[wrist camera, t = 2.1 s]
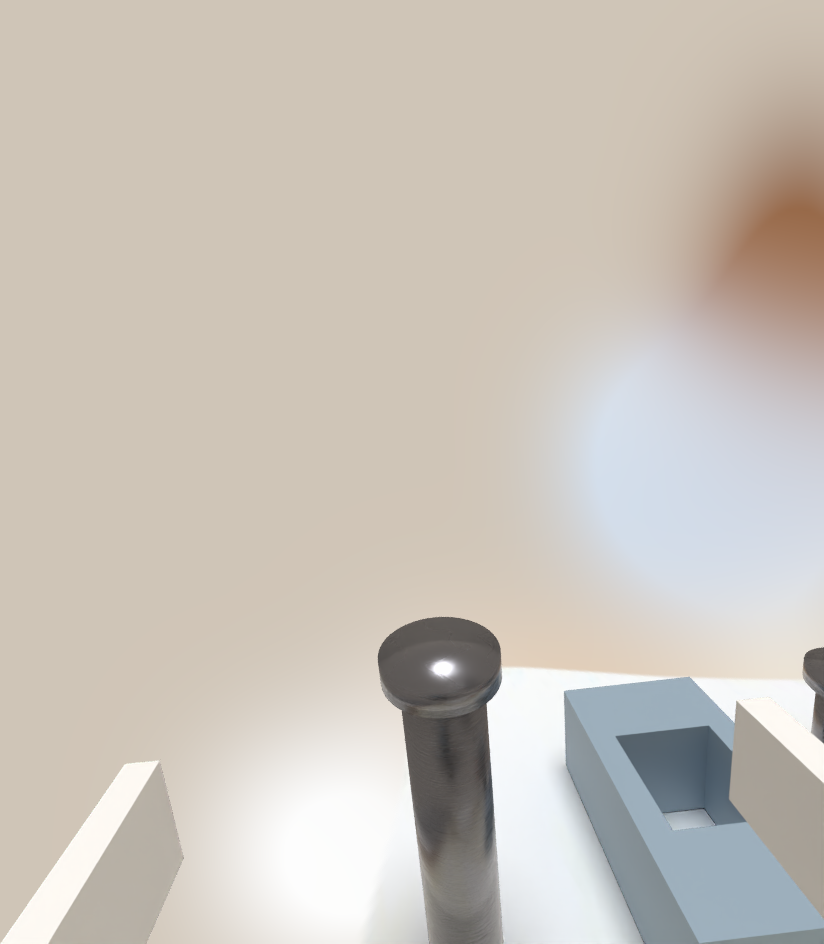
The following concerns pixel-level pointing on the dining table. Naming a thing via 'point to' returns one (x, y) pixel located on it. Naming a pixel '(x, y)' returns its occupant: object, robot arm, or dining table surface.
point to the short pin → (816, 688)
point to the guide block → (676, 789)
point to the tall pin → (450, 769)
